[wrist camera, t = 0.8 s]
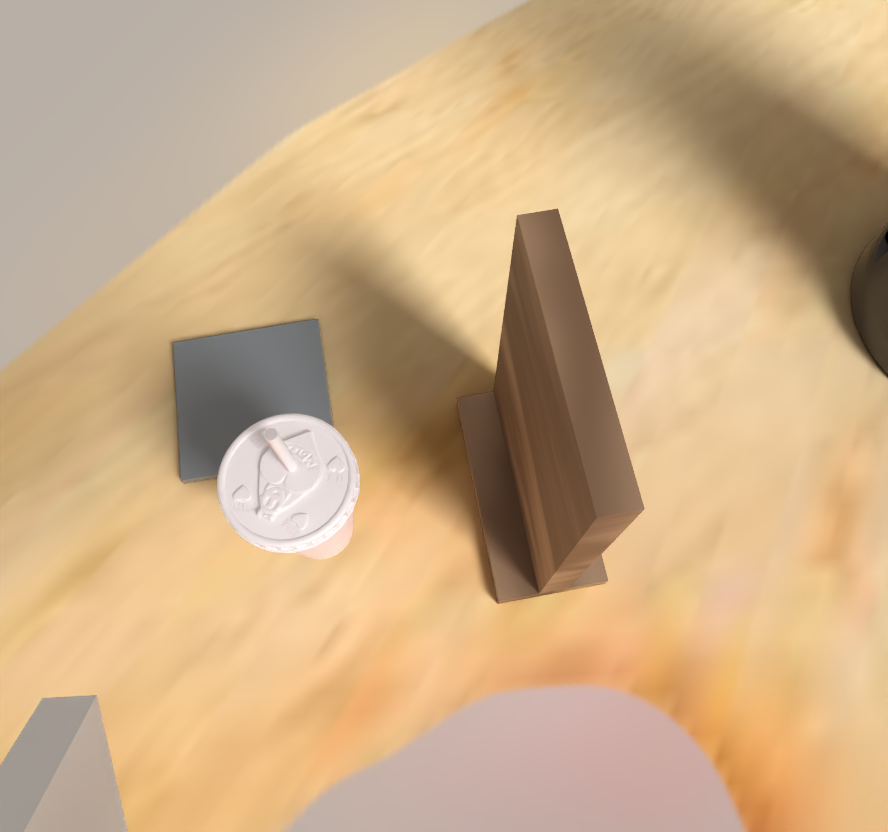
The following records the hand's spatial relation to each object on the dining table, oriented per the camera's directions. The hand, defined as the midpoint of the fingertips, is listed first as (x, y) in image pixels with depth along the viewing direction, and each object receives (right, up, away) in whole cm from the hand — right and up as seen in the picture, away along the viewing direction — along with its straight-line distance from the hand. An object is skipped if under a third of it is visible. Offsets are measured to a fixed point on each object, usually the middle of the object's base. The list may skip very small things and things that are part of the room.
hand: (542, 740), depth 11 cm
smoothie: (-9, -1, +31) cm, 33 cm away
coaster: (-13, +6, +34) cm, 37 cm away
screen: (+3, +1, +32) cm, 32 cm away
